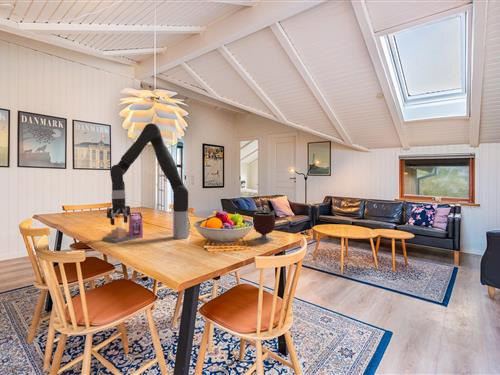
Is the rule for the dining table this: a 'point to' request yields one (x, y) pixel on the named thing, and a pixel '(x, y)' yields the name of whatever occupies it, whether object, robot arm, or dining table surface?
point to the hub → (118, 233)
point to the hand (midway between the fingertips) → (119, 223)
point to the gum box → (136, 225)
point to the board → (116, 240)
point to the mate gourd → (264, 225)
